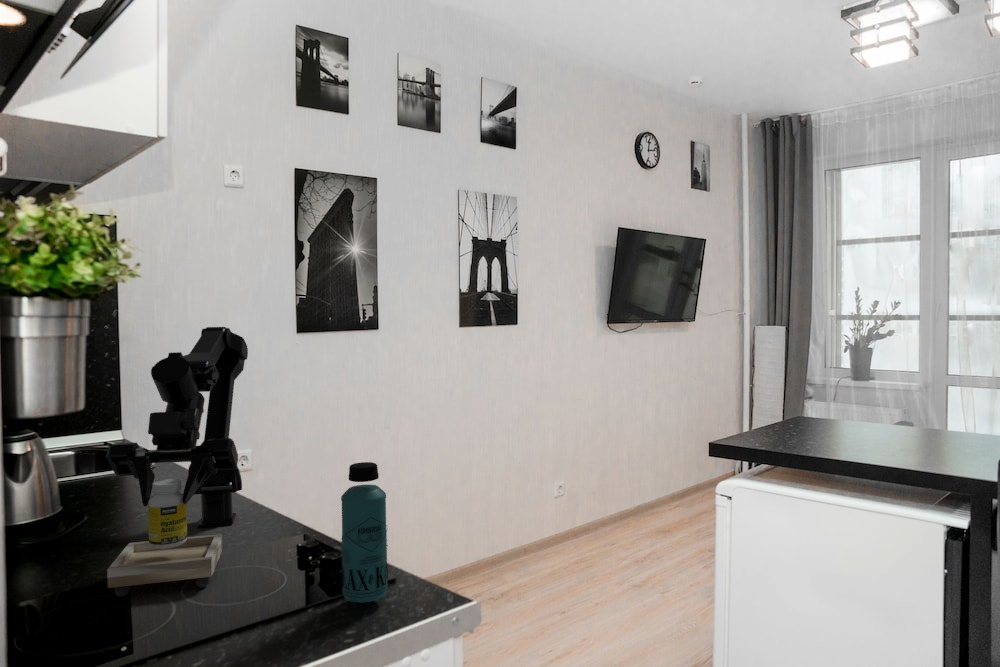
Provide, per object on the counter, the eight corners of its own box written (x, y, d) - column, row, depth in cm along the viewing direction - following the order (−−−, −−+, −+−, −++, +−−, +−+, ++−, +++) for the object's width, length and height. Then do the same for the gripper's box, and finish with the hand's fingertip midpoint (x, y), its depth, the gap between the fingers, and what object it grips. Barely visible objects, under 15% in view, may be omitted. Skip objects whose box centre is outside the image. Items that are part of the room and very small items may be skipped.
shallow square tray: (130, 571, 111) (129, 542, 110) (222, 561, 114) (221, 534, 114) (108, 601, 99) (107, 569, 99) (212, 589, 103) (210, 558, 102)
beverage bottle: (333, 604, 97) (329, 464, 96) (372, 590, 101) (369, 456, 101) (358, 618, 92) (355, 471, 91) (399, 603, 97) (395, 463, 96)
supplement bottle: (159, 552, 103) (157, 488, 102) (142, 545, 106) (140, 482, 106) (194, 542, 107) (192, 480, 107) (176, 535, 110) (174, 475, 110)
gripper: (107, 393, 108) (80, 480, 98) (232, 389, 111) (218, 472, 101) (128, 433, 116) (105, 517, 106) (243, 428, 119) (231, 509, 109)
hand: (164, 503), depth 105 cm, fingers closed on supplement bottle, 5 cm apart
